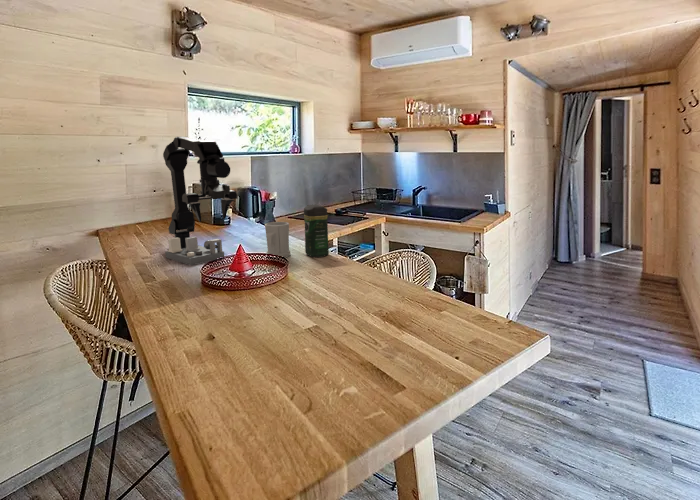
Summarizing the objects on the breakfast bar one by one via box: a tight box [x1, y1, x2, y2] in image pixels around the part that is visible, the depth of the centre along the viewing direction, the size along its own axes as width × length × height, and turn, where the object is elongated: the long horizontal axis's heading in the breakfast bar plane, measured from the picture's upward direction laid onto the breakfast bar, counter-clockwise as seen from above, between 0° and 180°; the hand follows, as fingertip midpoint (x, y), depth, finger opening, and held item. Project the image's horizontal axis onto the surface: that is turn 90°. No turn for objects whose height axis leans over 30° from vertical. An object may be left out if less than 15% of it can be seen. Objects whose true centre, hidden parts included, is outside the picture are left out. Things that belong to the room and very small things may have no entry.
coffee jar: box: [303, 204, 330, 258], centre depth 171 cm, size 10×8×19 cm
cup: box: [264, 221, 291, 258], centre depth 171 cm, size 10×9×12 cm
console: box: [165, 238, 225, 266], centre depth 172 cm, size 18×14×7 cm
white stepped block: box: [185, 236, 200, 252], centre depth 172 cm, size 4×4×5 cm
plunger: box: [203, 240, 218, 249], centre depth 171 cm, size 6×3×3 cm, turn 48°
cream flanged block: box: [167, 237, 183, 253], centre depth 171 cm, size 4×4×5 cm
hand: (212, 220), depth 170 cm, fingers open, 9 cm apart
